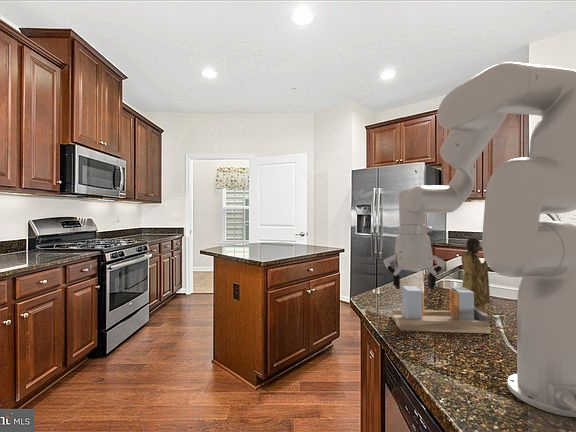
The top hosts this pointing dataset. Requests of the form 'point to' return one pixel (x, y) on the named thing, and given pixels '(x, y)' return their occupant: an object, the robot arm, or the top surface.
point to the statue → (476, 274)
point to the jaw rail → (448, 316)
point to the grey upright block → (413, 302)
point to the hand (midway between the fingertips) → (414, 288)
